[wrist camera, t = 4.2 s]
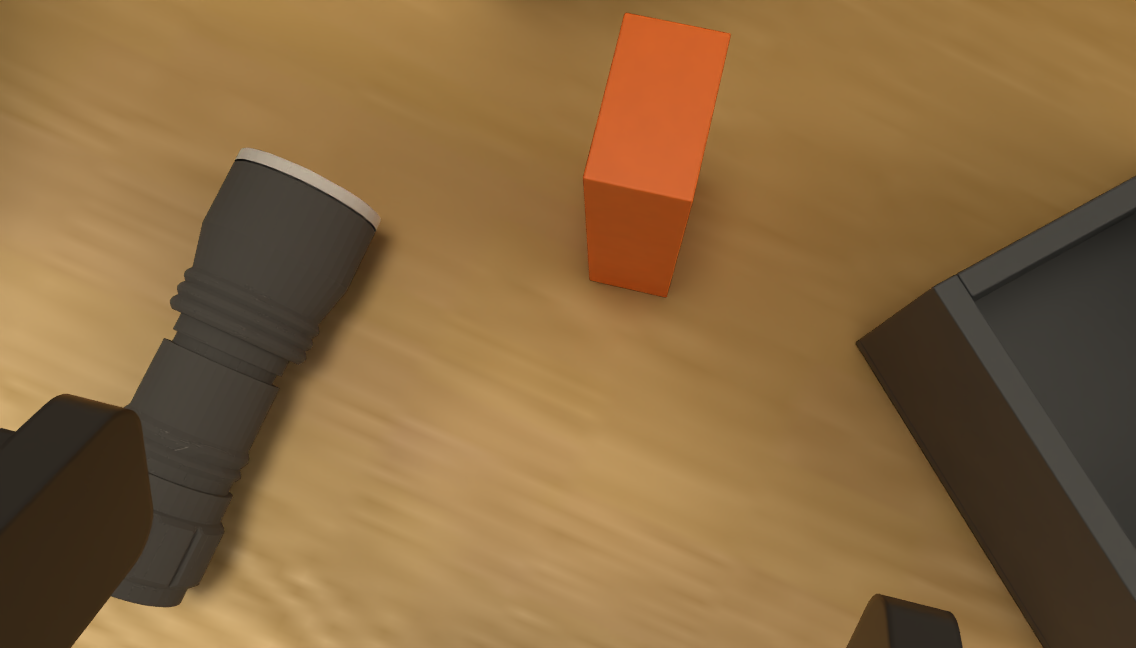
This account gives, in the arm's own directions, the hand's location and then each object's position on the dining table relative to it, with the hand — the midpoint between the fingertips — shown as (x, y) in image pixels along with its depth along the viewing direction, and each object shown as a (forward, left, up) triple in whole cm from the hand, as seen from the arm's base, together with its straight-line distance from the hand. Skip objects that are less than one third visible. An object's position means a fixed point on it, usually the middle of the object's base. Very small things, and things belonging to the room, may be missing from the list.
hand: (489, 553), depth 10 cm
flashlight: (-8, +11, -25) cm, 28 cm away
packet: (+8, +9, -25) cm, 27 cm away
